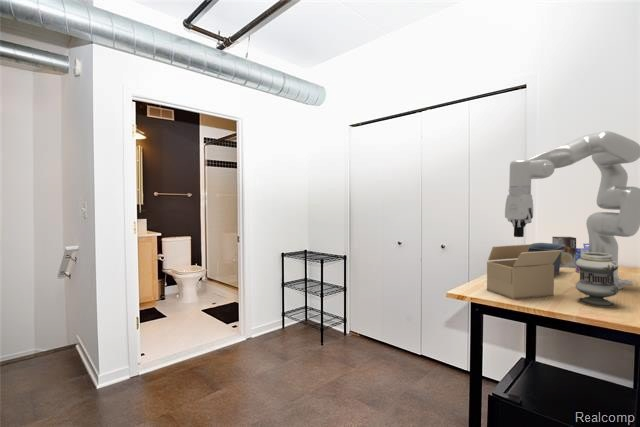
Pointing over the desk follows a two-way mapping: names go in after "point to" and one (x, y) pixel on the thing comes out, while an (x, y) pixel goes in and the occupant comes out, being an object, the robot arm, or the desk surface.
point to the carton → (520, 279)
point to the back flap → (507, 252)
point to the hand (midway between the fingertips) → (518, 236)
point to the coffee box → (567, 250)
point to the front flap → (537, 258)
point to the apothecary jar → (597, 278)
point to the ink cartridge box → (579, 253)
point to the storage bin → (548, 247)
